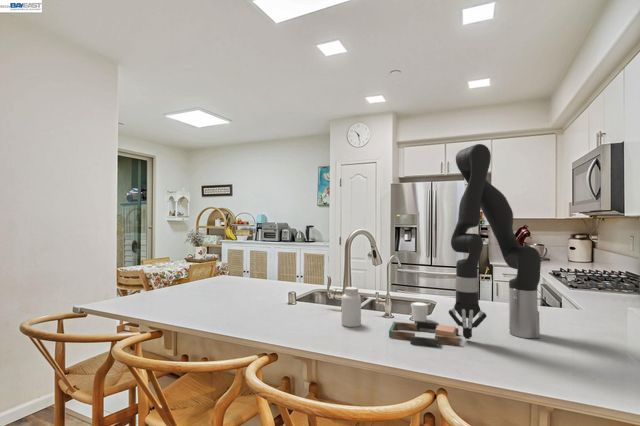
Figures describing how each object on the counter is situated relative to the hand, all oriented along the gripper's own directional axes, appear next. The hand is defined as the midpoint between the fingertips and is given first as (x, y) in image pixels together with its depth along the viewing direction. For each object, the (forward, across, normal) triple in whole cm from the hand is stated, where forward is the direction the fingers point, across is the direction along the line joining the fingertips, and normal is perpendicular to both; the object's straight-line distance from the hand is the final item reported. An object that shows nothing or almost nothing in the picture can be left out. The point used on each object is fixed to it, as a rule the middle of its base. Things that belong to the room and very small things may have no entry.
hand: (467, 338), depth 122 cm
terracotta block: (+1, +7, 0) cm, 7 cm away
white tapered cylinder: (+1, +18, -21) cm, 27 cm away
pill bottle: (+1, +44, -5) cm, 44 cm away
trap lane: (+1, +15, 0) cm, 15 cm away
